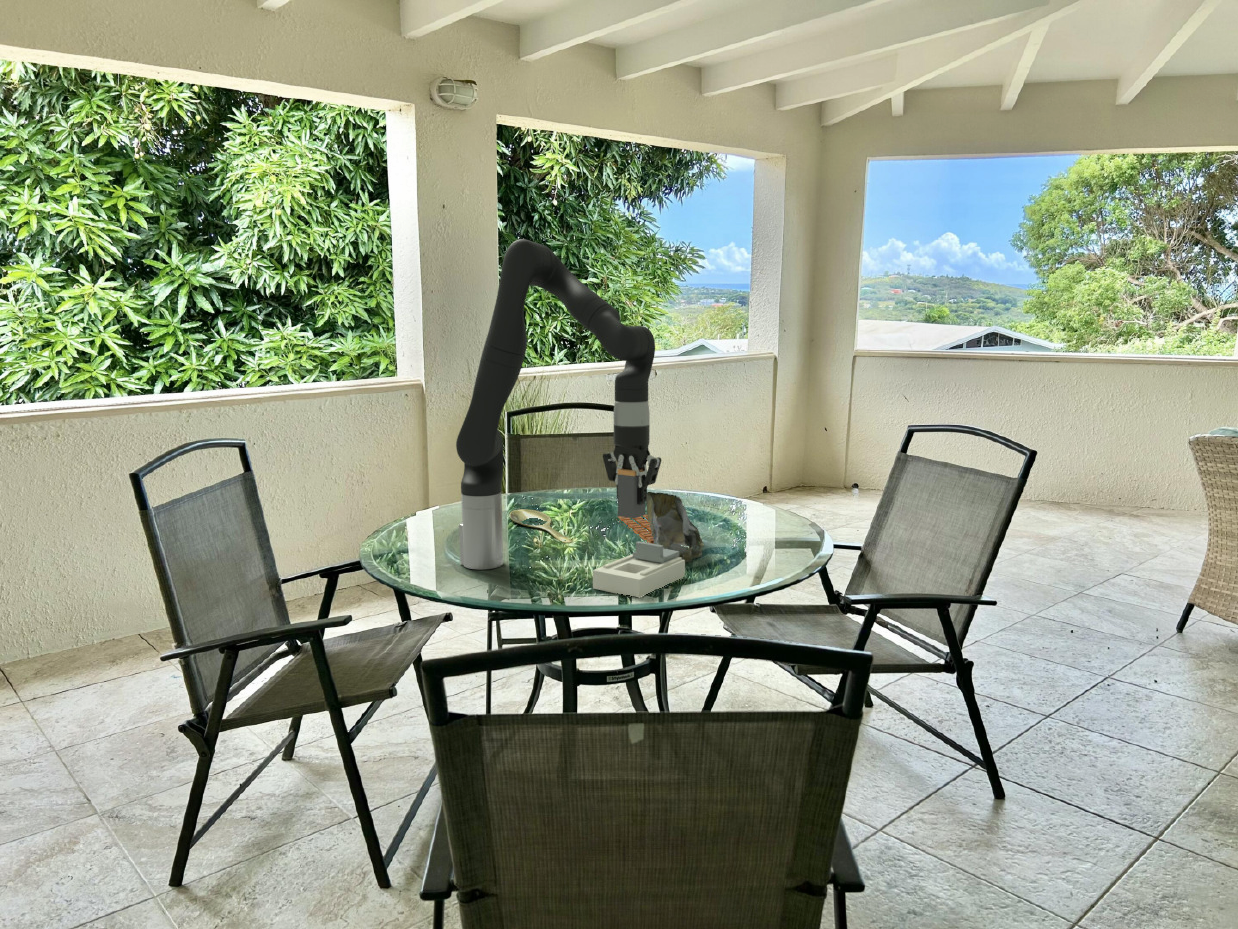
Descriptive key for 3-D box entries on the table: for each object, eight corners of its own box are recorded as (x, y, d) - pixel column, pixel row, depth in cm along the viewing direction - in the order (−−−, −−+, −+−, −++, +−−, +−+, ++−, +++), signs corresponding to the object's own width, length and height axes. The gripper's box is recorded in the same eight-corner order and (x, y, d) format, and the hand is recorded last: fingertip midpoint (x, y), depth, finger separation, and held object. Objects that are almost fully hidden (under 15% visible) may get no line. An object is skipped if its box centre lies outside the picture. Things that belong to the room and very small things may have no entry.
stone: (695, 588, 213) (701, 533, 240) (705, 551, 209) (711, 499, 237) (624, 570, 214) (639, 517, 241) (633, 533, 210) (647, 483, 237)
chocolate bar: (663, 517, 264) (663, 512, 263) (702, 542, 235) (702, 536, 235) (615, 520, 259) (615, 515, 259) (649, 546, 231) (649, 540, 231)
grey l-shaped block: (632, 557, 202) (632, 541, 202) (649, 551, 208) (649, 535, 207) (663, 563, 198) (663, 547, 197) (679, 556, 203) (679, 540, 203)
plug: (629, 512, 196) (629, 466, 194) (645, 514, 194) (645, 468, 192) (617, 516, 193) (617, 469, 191) (634, 518, 190) (634, 471, 189)
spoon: (587, 547, 235) (588, 539, 235) (549, 552, 230) (550, 545, 230) (536, 513, 265) (536, 506, 265) (501, 517, 260) (501, 510, 260)
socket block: (592, 588, 194) (592, 568, 194) (639, 568, 209) (639, 549, 208) (639, 598, 188) (639, 577, 187) (684, 577, 202) (684, 557, 201)
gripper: (670, 423, 189) (669, 503, 192) (614, 418, 197) (614, 496, 200) (650, 426, 183) (650, 510, 186) (593, 422, 191) (594, 501, 194)
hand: (631, 502), depth 193 cm, fingers closed on plug, 4 cm apart
